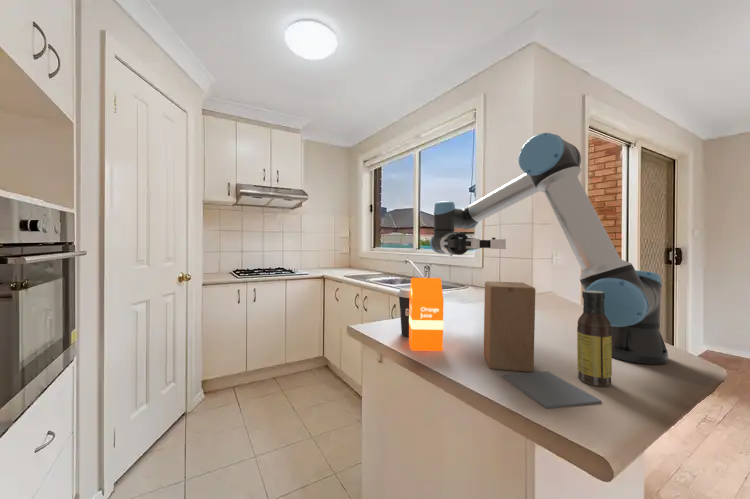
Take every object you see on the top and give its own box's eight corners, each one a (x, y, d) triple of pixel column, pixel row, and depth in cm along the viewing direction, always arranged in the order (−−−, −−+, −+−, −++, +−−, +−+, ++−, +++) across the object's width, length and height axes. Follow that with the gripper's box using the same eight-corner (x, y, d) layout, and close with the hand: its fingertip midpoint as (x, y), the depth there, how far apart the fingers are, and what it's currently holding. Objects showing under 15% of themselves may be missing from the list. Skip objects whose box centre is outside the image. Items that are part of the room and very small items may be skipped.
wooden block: (534, 373, 73) (536, 287, 73) (489, 369, 75) (490, 286, 75) (523, 358, 83) (524, 282, 83) (483, 354, 85) (484, 281, 85)
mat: (501, 376, 71) (501, 374, 71) (547, 372, 73) (547, 371, 73) (546, 408, 57) (546, 406, 57) (601, 402, 60) (601, 400, 60)
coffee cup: (395, 338, 99) (396, 290, 99) (398, 330, 108) (399, 286, 108) (426, 340, 97) (427, 291, 97) (426, 331, 107) (427, 287, 107)
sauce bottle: (602, 376, 72) (604, 289, 71) (617, 389, 65) (620, 294, 65) (571, 374, 73) (573, 288, 73) (583, 386, 67) (585, 292, 66)
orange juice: (408, 341, 95) (409, 276, 95) (437, 342, 95) (438, 276, 95) (411, 350, 88) (412, 279, 87) (443, 351, 88) (444, 279, 87)
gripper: (481, 254, 111) (523, 257, 88) (427, 254, 107) (457, 257, 85) (481, 233, 111) (524, 231, 88) (427, 232, 107) (457, 229, 85)
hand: (491, 243), depth 87 cm, fingers open, 7 cm apart
